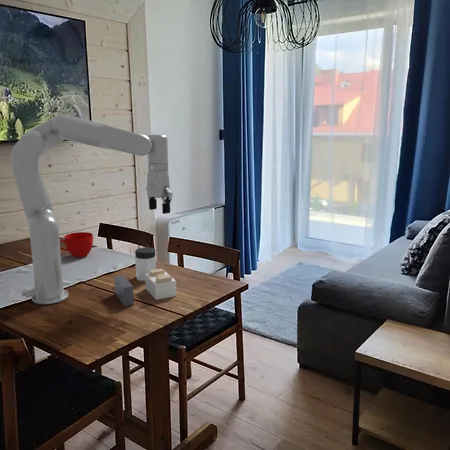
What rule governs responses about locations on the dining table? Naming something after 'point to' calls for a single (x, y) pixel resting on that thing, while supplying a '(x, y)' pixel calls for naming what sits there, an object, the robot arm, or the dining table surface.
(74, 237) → the ceramic cup
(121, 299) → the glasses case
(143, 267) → the jar
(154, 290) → the white toaster
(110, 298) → the dining table surface
